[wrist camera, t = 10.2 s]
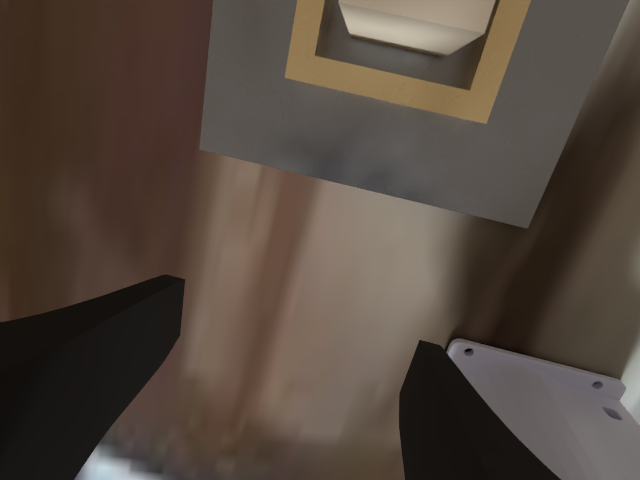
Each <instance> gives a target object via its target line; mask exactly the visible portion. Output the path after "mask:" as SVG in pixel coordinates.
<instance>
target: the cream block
mask: <svg viewBox="0 0 640 480" xmlns="http://www.w3.org/2000/svg"><path fill="white" fill-rule="evenodd" d="M338 3H339V6H340V8H341V11H342V14H343V17H344V20H345V23H346V26H347V28H348V31H349V34H350V37H354V38H358V39H363V40H367V41H372V42H377V43H381V44H386V45H390V46H395V47H400V48H404V49H409V50H413V51H418V52H422V53H427V54H432V55H436V56H441V57H446V56H448V55H449V54H451V53H453V52H454V51H456V50H458V49H459V48H461V47H463V46H465V45H466V44H468V43H470V42H471V41H473V40H475V39H476V38H478V37H480V36H481V35H483V34H484V33H485V30H486V27H487V24H488V21H489V18H490V15H491V12H492V9H493V6H494V3H495V0H339V2H338Z"/></svg>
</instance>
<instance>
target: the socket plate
mask: <svg viewBox="0 0 640 480" xmlns="http://www.w3.org/2000/svg"><path fill="white" fill-rule="evenodd" d="M338 2H339V0H213V10H212V21H211V31H210V42H209V53H208V63H207V74H206V85H205V95H204V106H203V117H202V127H201V138H200V150H204V151H208V152H212V153H216V154H220V155H224V156H229V157H233V158H237V159H241V160H245V161H249V162H253V163H258V164H262V165H266V166H270V167H274V168H278V169H282V170H287V171H291V172H295V173H299V174H303V175H307V176H311V177H316V178H320V179H324V180H328V181H332V182H336V183H340V184H345V185H349V186H353V187H357V188H361V189H365V190H370V191H374V192H378V193H382V194H386V195H390V196H394V197H399V198H403V199H407V200H411V201H415V202H419V203H423V204H428V205H432V206H436V207H440V208H444V209H448V210H452V211H457V212H461V213H465V214H469V215H473V216H477V217H481V218H486V219H490V220H494V221H498V222H502V223H506V224H510V225H515V226H519V227H523V228H527V229H528V227H529V225H530V223H531V220H532V218H533V216H534V214H535V211H536V209H537V207H538V205H539V202H540V200H541V198H542V196H543V193H544V191H545V189H546V187H547V184H548V182H549V180H550V178H551V175H552V173H553V171H554V169H555V166H556V164H557V162H558V160H559V157H560V155H561V153H562V151H563V148H564V146H565V144H566V142H567V139H568V137H569V135H570V133H571V130H572V128H573V126H574V124H575V121H576V119H577V117H578V115H579V112H580V110H581V108H582V106H583V103H584V101H585V99H586V97H587V94H588V92H589V90H590V88H591V85H592V83H593V81H594V79H595V76H596V74H597V72H598V70H599V67H600V65H601V63H602V61H603V58H604V56H605V54H606V52H607V49H608V47H609V45H610V43H611V40H612V38H613V36H614V34H615V31H616V29H617V27H618V25H619V22H620V20H621V18H622V16H623V13H624V11H625V9H626V6H627V4H628V2H629V0H495V3H494V6H493V9H492V12H491V15H490V18H489V21H488V24H487V27H486V30H485V33H484V34H483V35H481V36H480V37H478V38H476V39H475V40H473V41H471V42H470V43H468V44H466V45H465V46H463V47H461V48H459V49H458V50H456V51H454V52H453V53H451V54H449V55H448V56H446V57H441V56H436V55H432V54H427V53H422V52H418V51H413V50H409V49H404V48H400V47H395V46H390V45H386V44H381V43H377V42H372V41H367V40H363V39H358V38H354V37H350V34H349V31H348V28H347V26H346V23H345V20H344V17H343V14H342V11H341V8H340V6H339V3H338Z"/></svg>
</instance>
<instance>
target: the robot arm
mask: <svg viewBox="0 0 640 480" xmlns="http://www.w3.org/2000/svg"><path fill="white" fill-rule="evenodd" d="M184 285H185V279H181V278H177V277H174V276H170V275H162V276H159V277H155V278H152V279H149V280H146V281H143V282H141V283H138V284H135V285H132V286H129V287H126V288H123V289H121V290H118V291H115V292H112V293H109V294H106V295H103V296H100V297H97V298H94V299H91V300H87V301H84V302H81V303H78V304H74V305H71V306H68V307H65V308H61V309H57V310H54V311H50V312H46V313H42V314H38V315H34V316H29V317H25V318H20V319H16V320H11V321H6V322H0V480H74V479H75V477H76V476H77V474H78V473H79V471H80V470H81V468H82V467H83V465H84V464H85V462H86V461H87V459H88V458H89V456H90V455H91V453H92V452H93V450H94V449H95V447H96V446H97V445H98V443H99V442H100V440H101V439H102V437H103V436H104V435H105V434H106V432H107V431H108V430H109V428H110V427H111V426H112V424H113V423H114V422H115V421H116V420H117V418H118V417H119V416H120V415H121V413H122V412H123V411H124V410H125V409H126V407H127V406H128V405H129V404H130V403H131V401H132V400H133V399H134V398H135V397H136V395H137V394H138V393H139V392H140V390H141V389H142V388H143V387H144V386H145V384H146V383H147V382H148V381H149V380H150V378H151V377H152V376H153V375H154V373H155V372H156V371H157V370H158V368H159V367H160V366H161V365H162V363H163V362H164V360H165V359H166V357H167V356H168V354H169V353H170V351H171V349H172V348H173V346H174V344H175V343H176V341H177V339H178V338H179V336H180V329H181V318H182V307H183V296H184ZM468 348H471V349H472V350H471V351H469V352H465V350H466V349H468ZM597 381H598V382H597ZM594 382H597V383H596V384H593V383H594ZM625 390H626V387H625V385H624V384H623V383H622V382H621V381H620V380H619V379H616V378H612V377H608V376H605V375H601V374H597V373H593V372H589V371H585V370H581V369H577V368H573V367H570V366H566V365H562V364H558V363H554V362H550V361H546V360H542V359H538V358H534V357H531V356H527V355H523V354H519V353H515V352H511V351H507V350H503V349H499V348H496V347H492V346H488V345H484V344H480V343H476V342H472V341H468V340H464V339H454V340H453V341H451V343H450V345H449V347H448V350H447V352H446V351H445V350H444V349H443V348H442V347H441V346H440V345H437V344H433V343H429V342H425V341H422V340H419V343H418V346H417V348H416V351H415V354H414V356H413V359H412V362H411V364H410V367H409V370H408V372H407V375H406V378H405V380H404V383H403V386H402V388H401V391H400V399H399V429H400V439H401V448H402V456H403V465H404V473H405V480H640V425H639V424H638V423H637V422H636V421H635V419H634V418H633V417H632V416H631V414H630V413H629V412H628V411H627V410H626V408H625V407H624V406H623V405H622V403H621V402H620V401H619V400H620V399H621V397H622V396H623V394H624V393H625Z"/></svg>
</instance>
